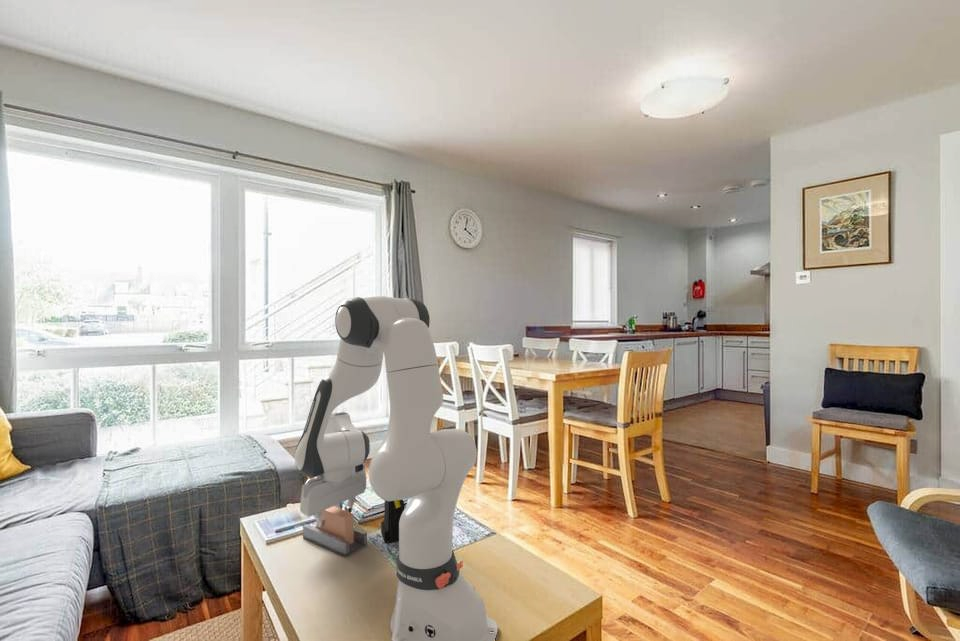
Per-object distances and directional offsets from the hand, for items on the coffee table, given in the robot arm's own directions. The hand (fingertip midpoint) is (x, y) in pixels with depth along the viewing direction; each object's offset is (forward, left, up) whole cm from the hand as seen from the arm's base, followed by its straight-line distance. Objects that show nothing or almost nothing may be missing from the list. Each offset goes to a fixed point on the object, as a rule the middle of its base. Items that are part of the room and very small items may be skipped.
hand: (334, 519), depth 124 cm
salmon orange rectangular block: (0, 0, -6) cm, 6 cm away
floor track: (0, 0, -6) cm, 6 cm away
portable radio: (-12, -11, -7) cm, 17 cm away
